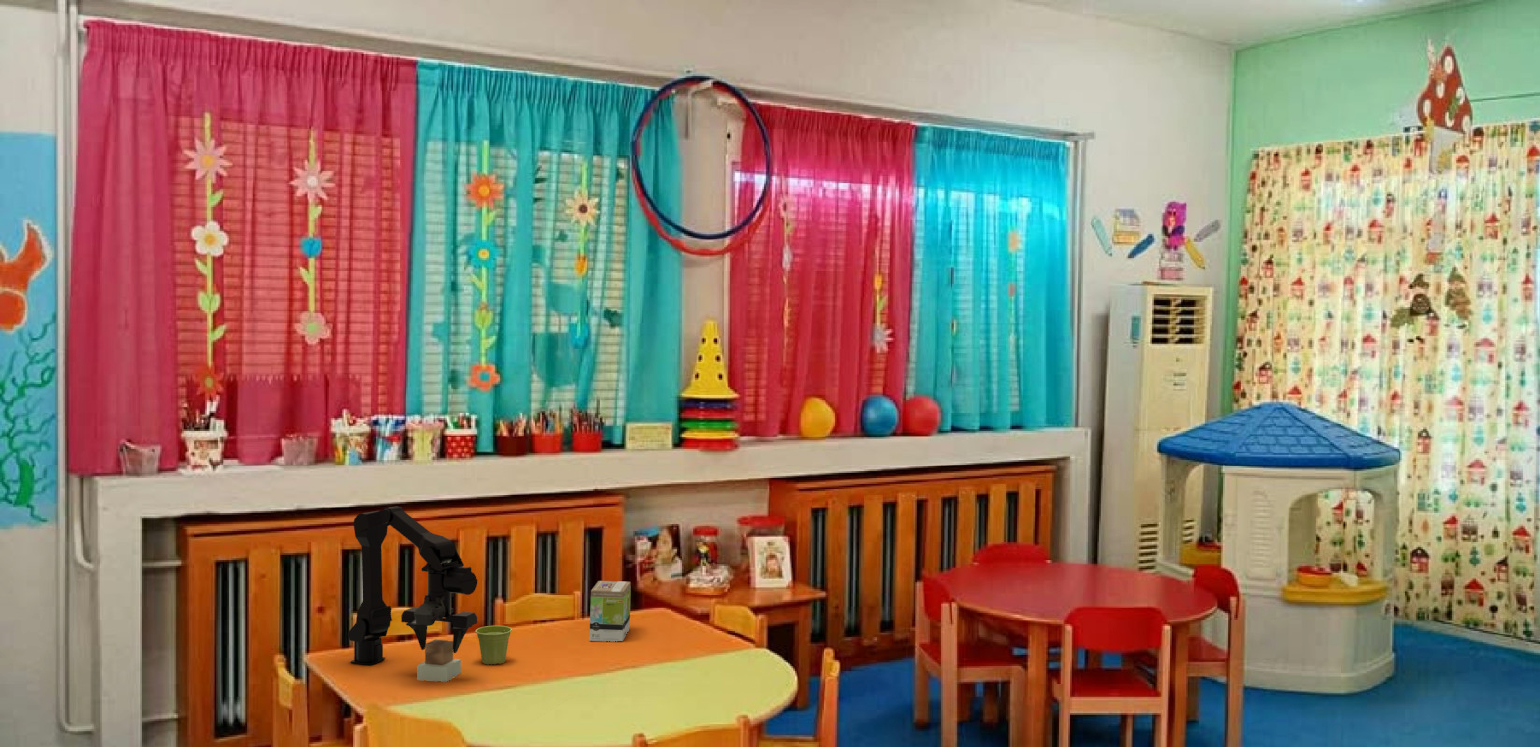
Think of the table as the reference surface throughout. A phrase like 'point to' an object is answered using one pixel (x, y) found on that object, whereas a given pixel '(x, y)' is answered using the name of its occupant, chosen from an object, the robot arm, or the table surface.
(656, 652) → the table surface
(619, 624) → the tea box
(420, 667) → the sage block
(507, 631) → the plant pot
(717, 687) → the table surface
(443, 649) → the walnut cube
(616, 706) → the table surface
